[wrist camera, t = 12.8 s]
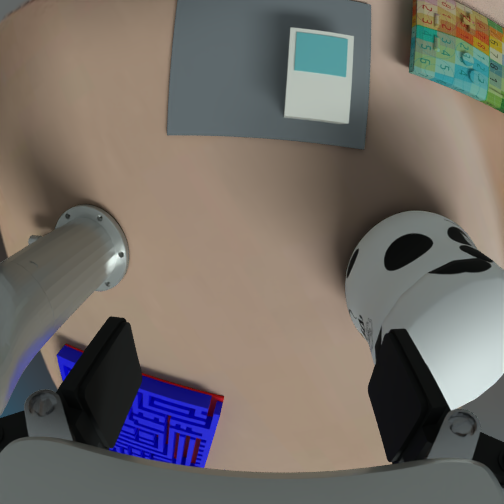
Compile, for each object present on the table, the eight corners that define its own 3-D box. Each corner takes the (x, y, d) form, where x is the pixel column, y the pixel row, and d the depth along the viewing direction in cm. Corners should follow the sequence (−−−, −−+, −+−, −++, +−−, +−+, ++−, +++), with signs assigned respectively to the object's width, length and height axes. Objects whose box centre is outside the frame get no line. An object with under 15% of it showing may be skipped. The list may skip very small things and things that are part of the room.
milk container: (331, 324, 41) (351, 431, 25) (347, 197, 35) (402, 260, 18) (440, 322, 40) (492, 408, 23) (469, 209, 34) (559, 266, 17)
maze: (67, 341, 49) (56, 354, 45) (224, 394, 49) (220, 411, 45) (86, 428, 60) (80, 439, 57) (203, 467, 61) (200, 480, 57)
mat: (168, 135, 34) (167, 135, 33) (179, -4, 27) (178, -6, 26) (362, 149, 33) (364, 149, 32) (369, 6, 26) (370, 4, 25)
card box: (289, 41, 28) (290, 26, 23) (343, 48, 28) (354, 35, 23) (283, 117, 32) (284, 115, 27) (338, 124, 31) (348, 123, 26)
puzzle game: (419, -18, 20) (542, 51, 19) (405, -5, 24) (522, 54, 24) (416, 69, 25) (540, 129, 24) (400, 75, 29) (519, 126, 28)
